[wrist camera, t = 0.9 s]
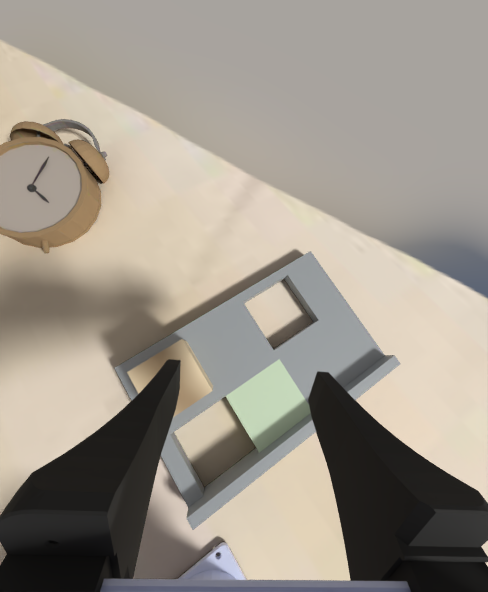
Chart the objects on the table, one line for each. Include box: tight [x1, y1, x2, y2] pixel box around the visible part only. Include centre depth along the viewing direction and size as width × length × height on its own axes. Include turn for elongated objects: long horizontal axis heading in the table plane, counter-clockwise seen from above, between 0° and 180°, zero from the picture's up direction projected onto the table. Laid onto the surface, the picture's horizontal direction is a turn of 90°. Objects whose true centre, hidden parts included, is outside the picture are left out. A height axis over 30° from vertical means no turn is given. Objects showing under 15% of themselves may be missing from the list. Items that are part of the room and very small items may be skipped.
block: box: [127, 339, 213, 417], centre depth 22 cm, size 5×5×4 cm
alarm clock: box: [0, 119, 109, 253], centre depth 28 cm, size 11×5×15 cm
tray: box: [115, 251, 400, 530], centre depth 25 cm, size 24×15×3 cm, turn 123°
